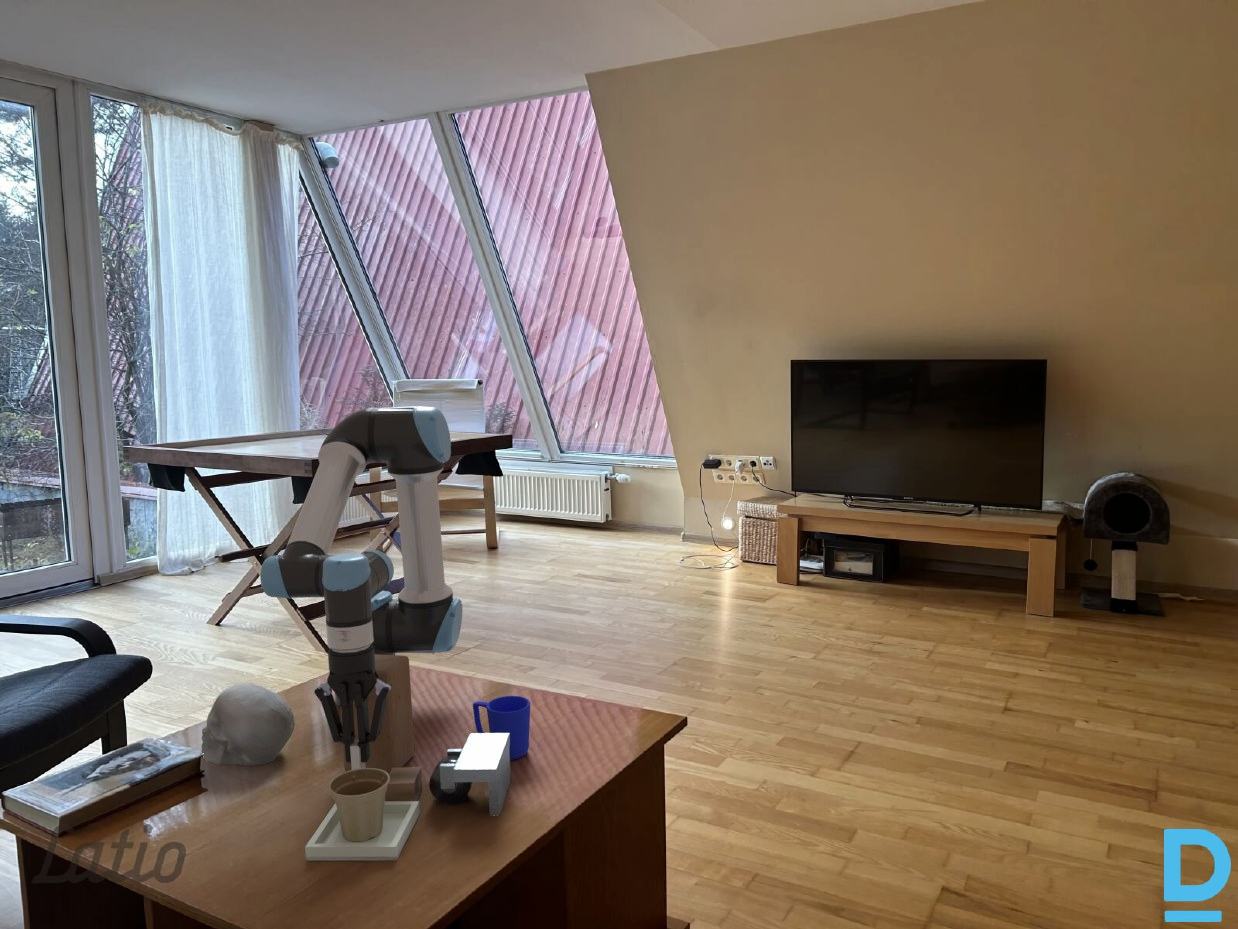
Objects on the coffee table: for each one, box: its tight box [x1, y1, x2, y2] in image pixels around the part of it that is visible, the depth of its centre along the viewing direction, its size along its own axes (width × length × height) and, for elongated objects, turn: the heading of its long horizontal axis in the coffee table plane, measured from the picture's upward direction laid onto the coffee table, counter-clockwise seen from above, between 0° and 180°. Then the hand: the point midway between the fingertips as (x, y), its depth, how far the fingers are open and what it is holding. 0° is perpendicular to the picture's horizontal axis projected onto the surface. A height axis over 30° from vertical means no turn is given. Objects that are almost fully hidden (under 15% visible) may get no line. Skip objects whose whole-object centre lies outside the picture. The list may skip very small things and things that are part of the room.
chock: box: [385, 766, 423, 801], centre depth 160 cm, size 6×5×4 cm
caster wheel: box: [428, 732, 512, 817], centre depth 159 cm, size 14×12×9 cm
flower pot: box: [328, 768, 390, 841], centre depth 148 cm, size 9×9×9 cm
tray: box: [304, 800, 421, 862], centre depth 149 cm, size 14×14×2 cm
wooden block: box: [339, 654, 415, 774], centre depth 172 cm, size 10×10×20 cm
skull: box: [200, 682, 296, 767], centre depth 178 cm, size 13×18×15 cm
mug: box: [472, 695, 531, 761], centre depth 177 cm, size 8×12×10 cm
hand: (359, 779), depth 160 cm, fingers closed
